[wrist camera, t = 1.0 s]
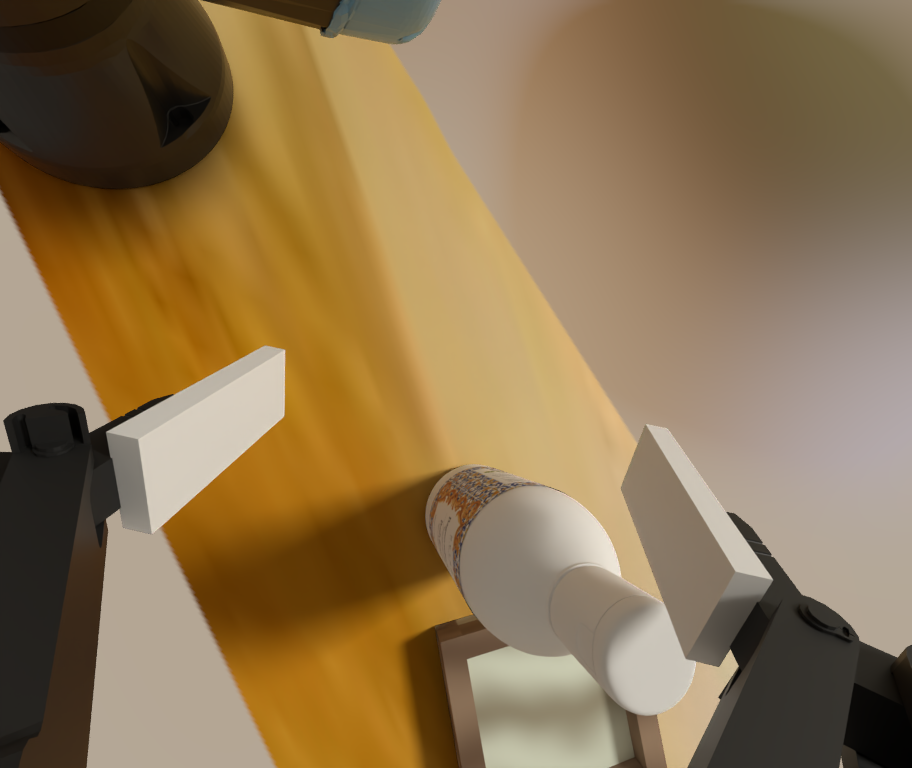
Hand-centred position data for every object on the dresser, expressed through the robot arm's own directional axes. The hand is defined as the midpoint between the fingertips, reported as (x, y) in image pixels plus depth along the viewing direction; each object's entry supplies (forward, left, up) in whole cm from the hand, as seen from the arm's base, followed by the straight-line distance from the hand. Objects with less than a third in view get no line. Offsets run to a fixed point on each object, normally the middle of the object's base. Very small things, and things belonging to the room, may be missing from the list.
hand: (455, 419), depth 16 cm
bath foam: (+7, +3, -16) cm, 18 cm away
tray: (+21, +6, -15) cm, 27 cm away
